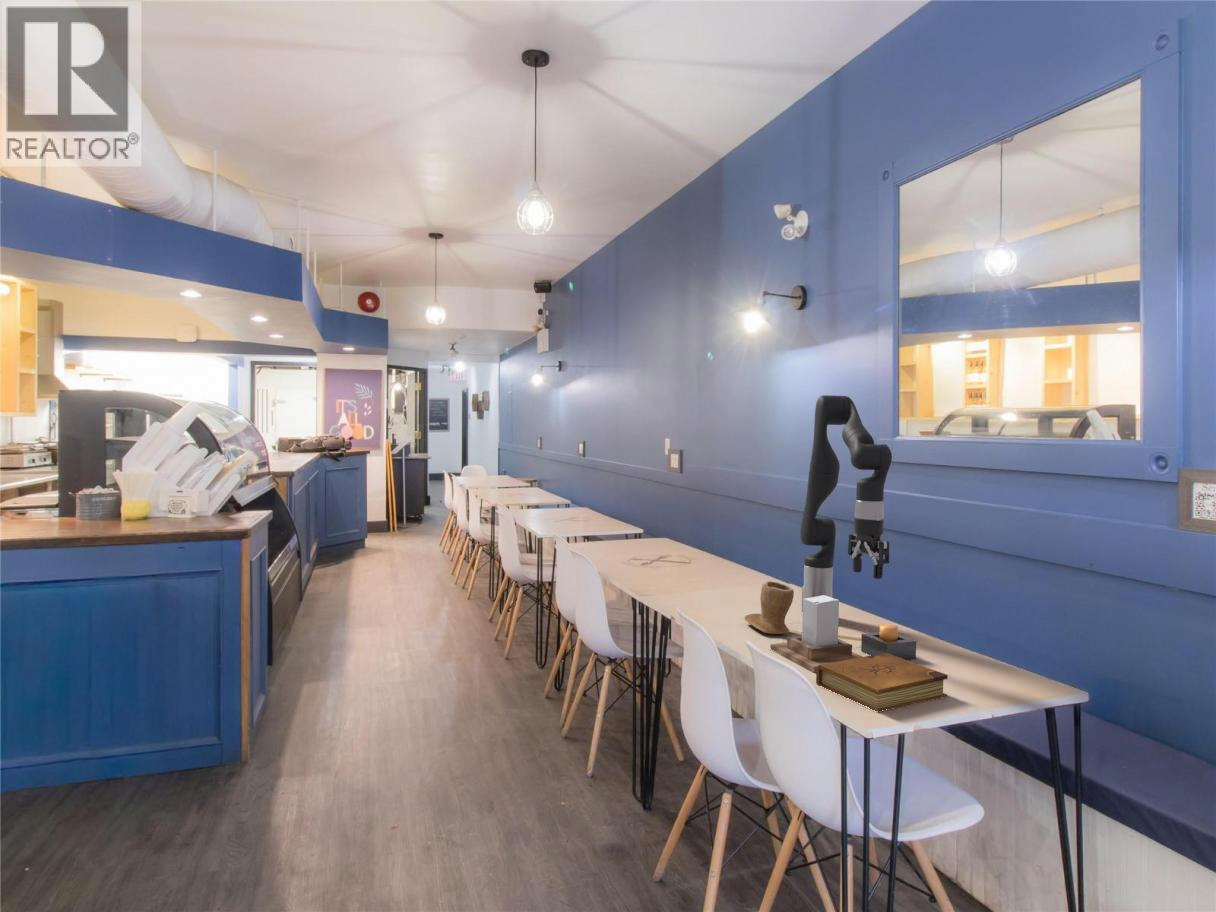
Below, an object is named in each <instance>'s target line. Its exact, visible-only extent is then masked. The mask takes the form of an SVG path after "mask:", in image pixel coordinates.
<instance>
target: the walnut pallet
mask: <svg viewBox="0 0 1216 912" xmlns="http://www.w3.org/2000/svg"><path fill="white" fill-rule="evenodd" d="M769 644H770V645H769V647H770V648H771V649H772V650H774V651H776V652H777V653H776V652H775V653H776V654H778V653H779V654H778V655H780V654H781V655H780V656H782V657H784V658H785V659H787V660H789V661H791V662H793V663H795V664H797V665H798V666H801V667H802V668H803V669H807V671H810V672H811V671H812V673H813V674H816V669H817V666H818V665H821V664H827V663H832V662H838V661H843V660H849V659H854V658H860V657H864V656H862V655H860V654H858V653H855V652H854V651H853V645H852V643H851V644H850V643H849V642H846V641H844V640H842V639H840V638H838V644H837V645H827V646H818V647H812V646H810V645H808V644H806V643H804V642H802V635H798V636H788V637H787V640H786V641H785V642H776V643H769ZM770 648H769V649H770ZM771 649H770V650H771ZM772 650H771V651H772ZM774 651H773V652H774Z"/></svg>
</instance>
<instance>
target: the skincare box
mask: <svg viewBox="0 0 1216 912" xmlns="http://www.w3.org/2000/svg"><path fill="white" fill-rule="evenodd" d="M839 611H840V600H839V599H837V598H834V597H832V598H831V597H828V596H825V595H822V596H817V597H811V598H805V599H803V614H802V624H801V627H802V628H801V636H802V642H804V643H806V644H808V645H810V646H812V647H818V646H827V645H837V644H838V639H839V617H840V614H839Z"/></svg>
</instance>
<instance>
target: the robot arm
mask: <svg viewBox="0 0 1216 912" xmlns="http://www.w3.org/2000/svg"><path fill="white" fill-rule="evenodd" d="M813 423H814V428H813V442H812V450H811V457H810V463H809V471H808V478H807V479H808V480H807V488H806V489H807V490H806V498H805V504H804V508H803V513H802V518H801V522H800V523H801V524H800V529H799V533H800V535H799V536H800V541H801V543H802V544H803V545H804V546H815V547H817V546H818V547H820V548H819V549H818V550H816V551H815V552H813V553H810V554H808V555H806V556H804V563H803V566H804V567H803V585H802V587H801V613H802V612H803V599H805V598H811V597H817V596H822V595H825V596H828V597H831V598H833V579H834V561H835V560H834V559H835V545H836V535H837V529H836V523H835V521H834V520H833V519H832V518H829V517H817V515H818V511H819V509H820V507H821V506H822V504H823V503H825V501H826V500H827V498H828V497H830V495H831V494H832V493H833V492H834V490H835V489H836V487H837V485H838V481H839V474H840V461H839V458H838V457H837V454H836V453H835V451H834V449H833V447H832V445H831V443H830V441H829V438H828V426H831V425H832V426H842V425H844V427H843V428H842V433H841V437H842V441H843V442H844V444H845V445H846V447H847V448H848V450H849V453H850V463H851V465H852V467H854V468H855V469H857V470H860V471H872V470H873V473H872V474H871V476H869V477H866V478H860V479H858V480H857V483H856V490H855V491H856V492H855V494H856V497H855V499H856V500H855V505H854V506H855V507H854V527H853V529H854V530H853V531H854V533H853V534H851V533H850V534H849V535H848V547H847V555H848V556H850V557H851V558H852V570H853V571H852V572H854V573H861V572H862V565H863V563H862V562H863V561H862V558H863V556H864V554H866V555H868V556H869V557H870V558H871V559H872V561H873V563H874V564H873V578H874V579H876V580H880V579H882V578H883V573H884V571H883V569H884V565H885V564H889V563H890V542H889V541H888V540H887V541H885V540H883V541H882V540H881V536H882V535H883V534H884V519H885V505H884V495H885V494H884V493H885V492H884V491H885V490H884V489H885V483H886V480H887V476H888V473H889V471H890V470H889V469H890V467H891V465H892V464H891V463H892V461H893V454H892V451H891V449H890V447H888V445H886V444H877V443H876V444H875V440H874V438H873V437H872V435H871V434H870V432H869V431H868V430H867V429H866V428H865V426H864V423H863V422H862V419H861V417H860V414H859V411H858V409H857V406H856V405H855V403H854V401H853V399H851V397H849V396H847V395H821V396H819V397H818V398H817V401H816V404H815V410H814V422H813Z"/></svg>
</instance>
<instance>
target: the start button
mask: <svg viewBox="0 0 1216 912" xmlns="http://www.w3.org/2000/svg"><path fill="white" fill-rule="evenodd" d="M878 632H879V638H880V639H883V640H885V641H896V640H898V634H899V627H898V626H896V625H893V624H887V623H886V624H885V623H884V624H880V625H879V631H878Z"/></svg>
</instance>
